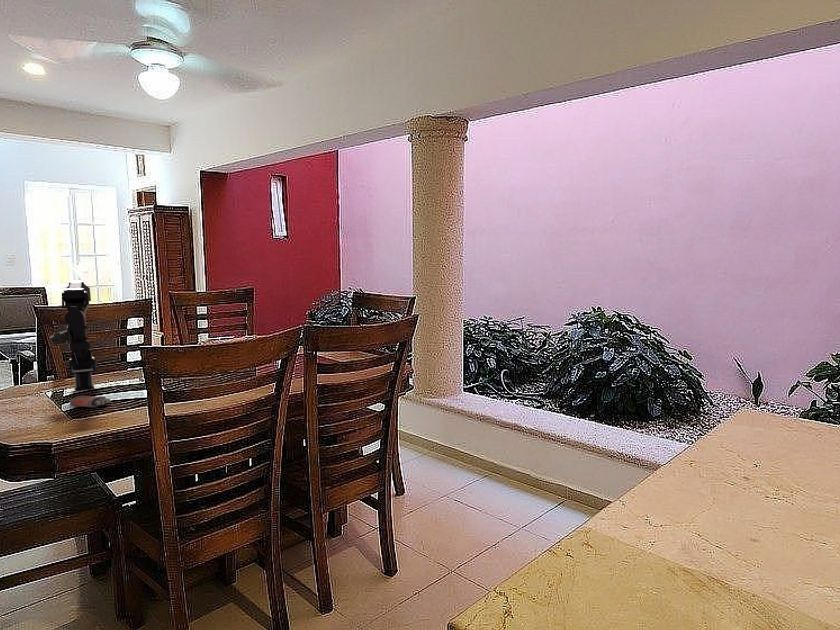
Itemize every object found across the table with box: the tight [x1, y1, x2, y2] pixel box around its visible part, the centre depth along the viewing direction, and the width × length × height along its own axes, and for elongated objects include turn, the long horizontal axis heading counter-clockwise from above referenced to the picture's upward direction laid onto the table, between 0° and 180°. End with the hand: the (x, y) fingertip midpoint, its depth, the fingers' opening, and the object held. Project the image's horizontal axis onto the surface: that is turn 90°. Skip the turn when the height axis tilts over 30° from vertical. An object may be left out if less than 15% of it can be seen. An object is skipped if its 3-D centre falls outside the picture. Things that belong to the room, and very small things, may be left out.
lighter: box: [69, 395, 111, 408], centre depth 198 cm, size 8×3×10 cm
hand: (79, 365), depth 208 cm, fingers closed
